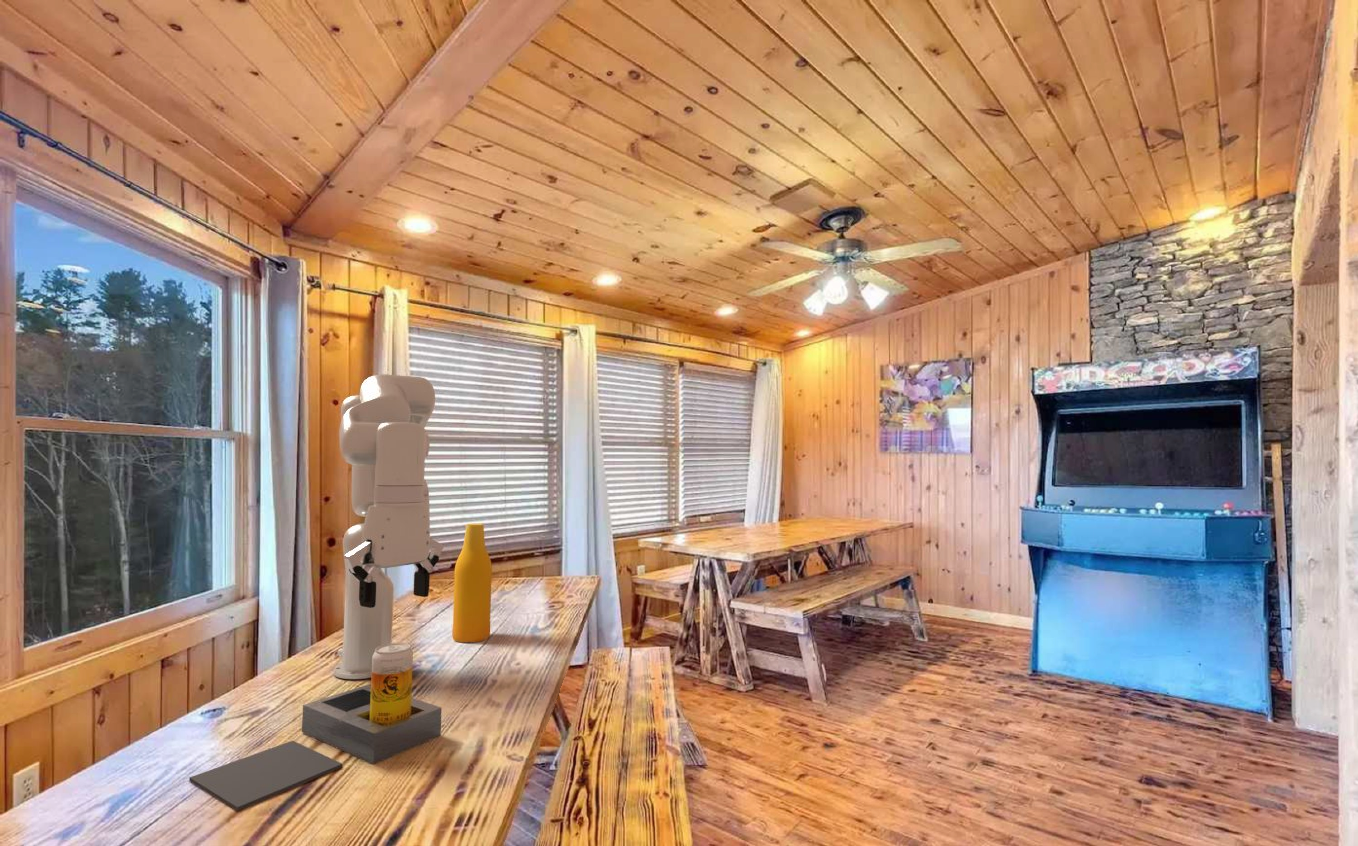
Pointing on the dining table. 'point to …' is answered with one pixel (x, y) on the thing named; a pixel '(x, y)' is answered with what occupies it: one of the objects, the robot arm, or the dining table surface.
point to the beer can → (391, 683)
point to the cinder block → (368, 725)
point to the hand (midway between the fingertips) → (395, 600)
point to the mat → (264, 774)
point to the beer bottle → (472, 588)
